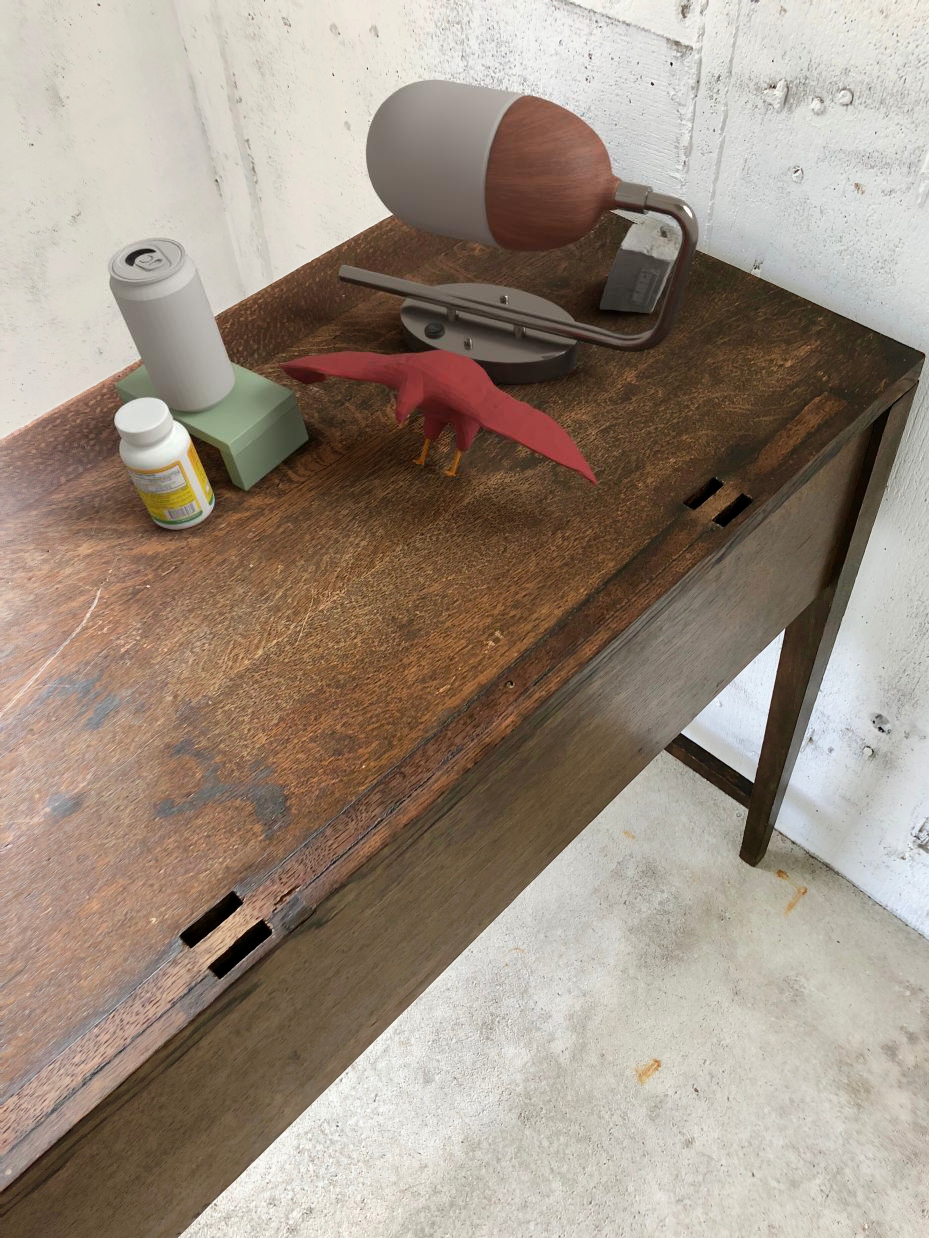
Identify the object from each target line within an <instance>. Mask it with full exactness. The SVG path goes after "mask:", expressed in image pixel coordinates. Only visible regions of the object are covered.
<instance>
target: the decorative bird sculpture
mask: <svg viewBox="0 0 929 1238" xmlns="http://www.w3.org/2000/svg"><path fill="white" fill-rule="evenodd" d="M278 367H279V368H280V369H281V370H282V371H284V373H285V374H286V376H289V377H290V378H291V379H293V380H295V381H297V382H299V383H301V384H303V385H306V386H307V385H313V384H316V383H323V382H327V381H329V378H328V377H334V378H340V379H344V380H349V381H364V382H368V383H372V384H373V383H374V384H380V385H385V386H387V387H390V388H392V389H394V390H395V391H397V392H398V393H397V399H396V404H395V407H394V417H395V421H396V422H397V424H398V426H399V427H402V425H403V424H404V422H405V421H406V419H407V417H409V415H410V414H411V413H412V412H413V411H414V410H416V409H417V410H419V411H421V412H423V423H422V433H423V436H424V438H425V441H424V444H423V448H422V451H421V455H420V457H419V459H412V460H411V461H410V463H412V462H413V463H414V465H422V467H423V468H424V469H426V463H425V459H426V457H427V453H428V449H429V446H430V443H431V442H435V441H437V440H438V439H439V438H440V436H441V435H442V432H443V431H444V430H445V427H446V426H447V425H449V424H450V425H451V427H452V428H453V429H454V432H455V433H456V438H455V446H456V452H455V455H454V460H453V461H452V465H451V468H450V471H446V470H443V471H442V472H441V473H440V474H445V476H446V477H448V476H452V477H453V478H454V479H455V480H457V475H456V470H457V468H458V465H459V464H458V463H459V460H460V458H461V455H462V453H464V452H466V451H468V450H469V449H470V448H471V446H472V445H473V442H474V439H475V437H476V435H477V433H478V431H479V429H480V428H482V429H484V430H485V431H489V432H492V433H495V434H497V435H500V436H502V437H504V438H506V439H509V440H511V441H513V442H514V443H516V444H518V445H520V446H521V447H523V448H525V449H527V450H529V451H531V452H534V453H536V454H539V455H541V456H543V457H544V458H546V459H548V460H549V461H551V462H554V463H556V464H557V465H560V466H561V467H565V468H567V469H569V470H571V471H573V472H574V473H577V474H579V475H581V477H583V478H585V479H586V481H588V482H589V483H591V484H592V485H594V486H595V487H598V486H599V484H598V481H597V478H596V476H595V475H594V472H593V471H592V469H591V467H590V465H589V463H588V461H587V460H586V459H585V457H584V456H583V454H582V453H581V451H580V450H579V448H578V447H577V446H576V443H575V442H574V440H573V439H572V438H571V437H570V436H569V434H568V432H567V431H566V430H565V429H564V428H563V427H562V426H561V425H560V423H558V422H556V421H555V419H553V418H552V417H551V416H550V415H548V414H546V413H545V412H543V411H541V410H539V409H538V408H534V407H532V406H531V405H530V404H529V403H527V402H525V401H521V400H519V399H516V398H514V397H512V396H511V395H510V394H509V393H507V392H505V391H503V390H501V389H499V388H498V386H496V385H495V383H493V382H492V381H491V379H490V378H489V377H488V375H487V373H486V372H485V370H484V369H483V368H482V367H481V366H479V365H478V364H477V363H476V362H475V361H474V360H472V359H471V358H470V357H468V356H462V355H460V354H457V353H455V352H451V351H446V350H433V351H427V352H421V353H414V352H405V353H397V354H396V353H392V354H382V353H375V352H371V351H363V352H362V351H351V350H344V351H336V352H329V353H328V352H327V353H321V354H318V355H307V356H306V355H305V356H302V357H298V358H294V359H292V360H289V361H287V362H285V363H281V364H279V365H278Z"/></svg>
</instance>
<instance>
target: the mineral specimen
mask: <svg viewBox="0 0 929 1238" xmlns="http://www.w3.org/2000/svg"><path fill="white" fill-rule="evenodd" d="M681 242H682V231H681V230H680V231H679V229H678V228H677V227H676V226H673V225H671V224H670V223H668V222H666V221H664V220H662V219H659V218H657V217H655V216H652V215H651V216H648V217H647V218H644V220H641V221H640V222H639V223H633V224H632V225H631V226H630V227H629V228H628V231H627V232H626V234H625V237H624V238H623V240H622V242H621V243H620V245H619V247H618V251H617V252H616V254H615V257H614V260H613V263H612V264H611V267H610V269H609V273H608V275H607V280H606V282H605V286H604V290H603V294H602V296H601V300H600V304H599V309H600V310H612V311H620V312H632V313H641V314H642V313H644V314H652V313H653V311H654V309H655V307H656V304H657V302H658V300H659V298H660V297H661V295H662V293H663V290H664V287H665V286H666V283H667V279H668V277H669V276H670V274H671V271H672V268H673V267H674V265H675V262H676V259H677V255H678V252H679V249H680V245H681Z"/></svg>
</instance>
